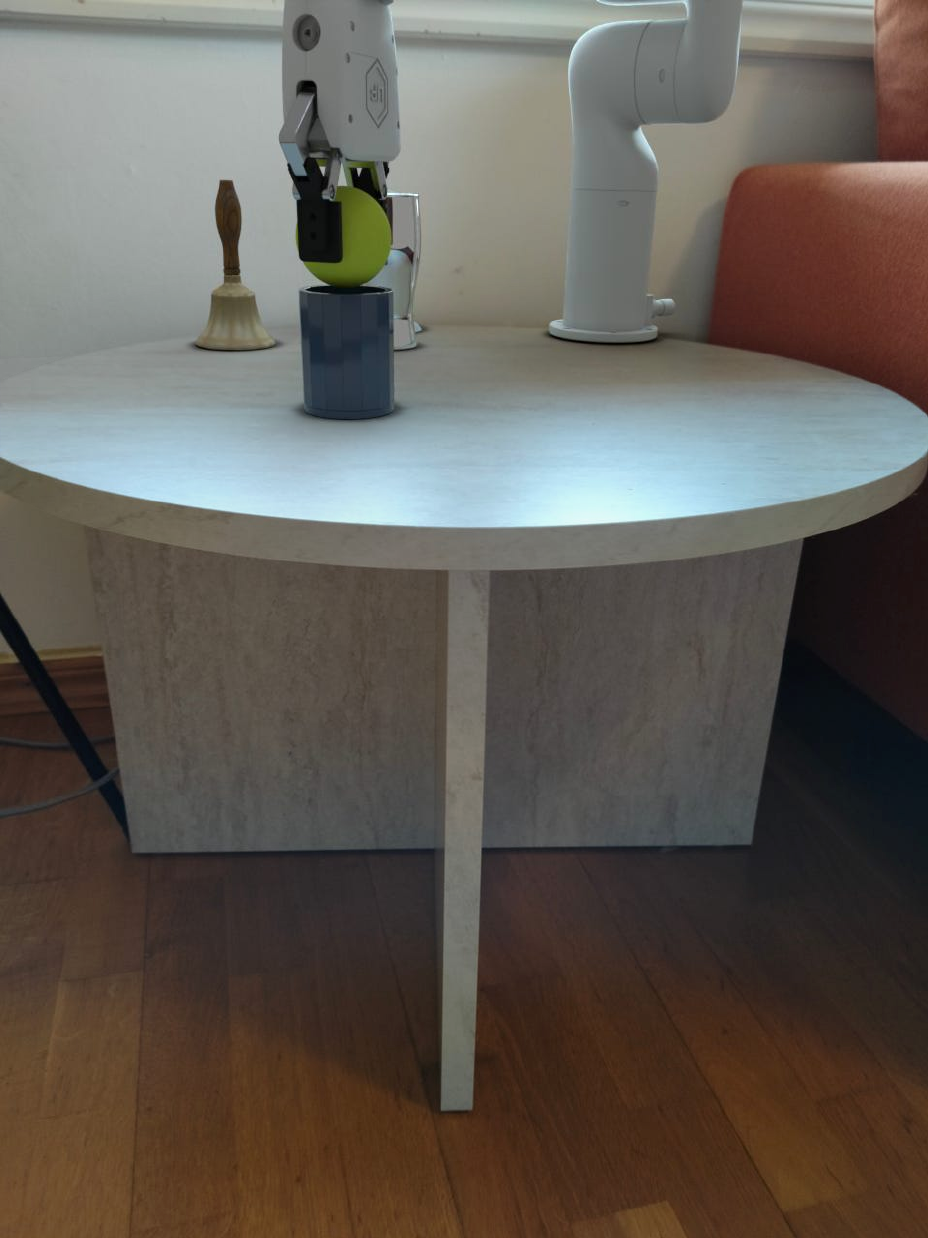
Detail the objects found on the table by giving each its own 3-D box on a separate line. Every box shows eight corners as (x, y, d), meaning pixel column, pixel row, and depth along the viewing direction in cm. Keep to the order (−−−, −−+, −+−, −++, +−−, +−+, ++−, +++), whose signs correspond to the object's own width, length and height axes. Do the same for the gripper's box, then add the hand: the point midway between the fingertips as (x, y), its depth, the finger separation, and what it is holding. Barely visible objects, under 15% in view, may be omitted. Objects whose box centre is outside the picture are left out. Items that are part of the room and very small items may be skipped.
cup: (366, 396, 82) (364, 282, 78) (410, 412, 77) (410, 292, 73) (289, 405, 78) (283, 286, 75) (329, 423, 73) (325, 296, 69)
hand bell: (288, 340, 107) (280, 180, 101) (255, 352, 100) (244, 180, 93) (218, 336, 109) (206, 178, 102) (181, 347, 102) (165, 178, 95)
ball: (363, 281, 78) (362, 185, 75) (409, 290, 73) (409, 187, 70) (282, 284, 74) (277, 183, 72) (323, 293, 69) (320, 185, 66)
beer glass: (411, 352, 102) (411, 194, 96) (347, 348, 103) (343, 193, 97) (427, 342, 108) (428, 193, 102) (366, 339, 109) (363, 192, 103)
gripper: (330, -56, 57) (339, 270, 64) (435, -6, 72) (433, 253, 79) (217, -50, 59) (238, 264, 66) (342, -3, 74) (348, 249, 81)
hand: (344, 256), depth 73 cm, fingers closed on ball, 6 cm apart
